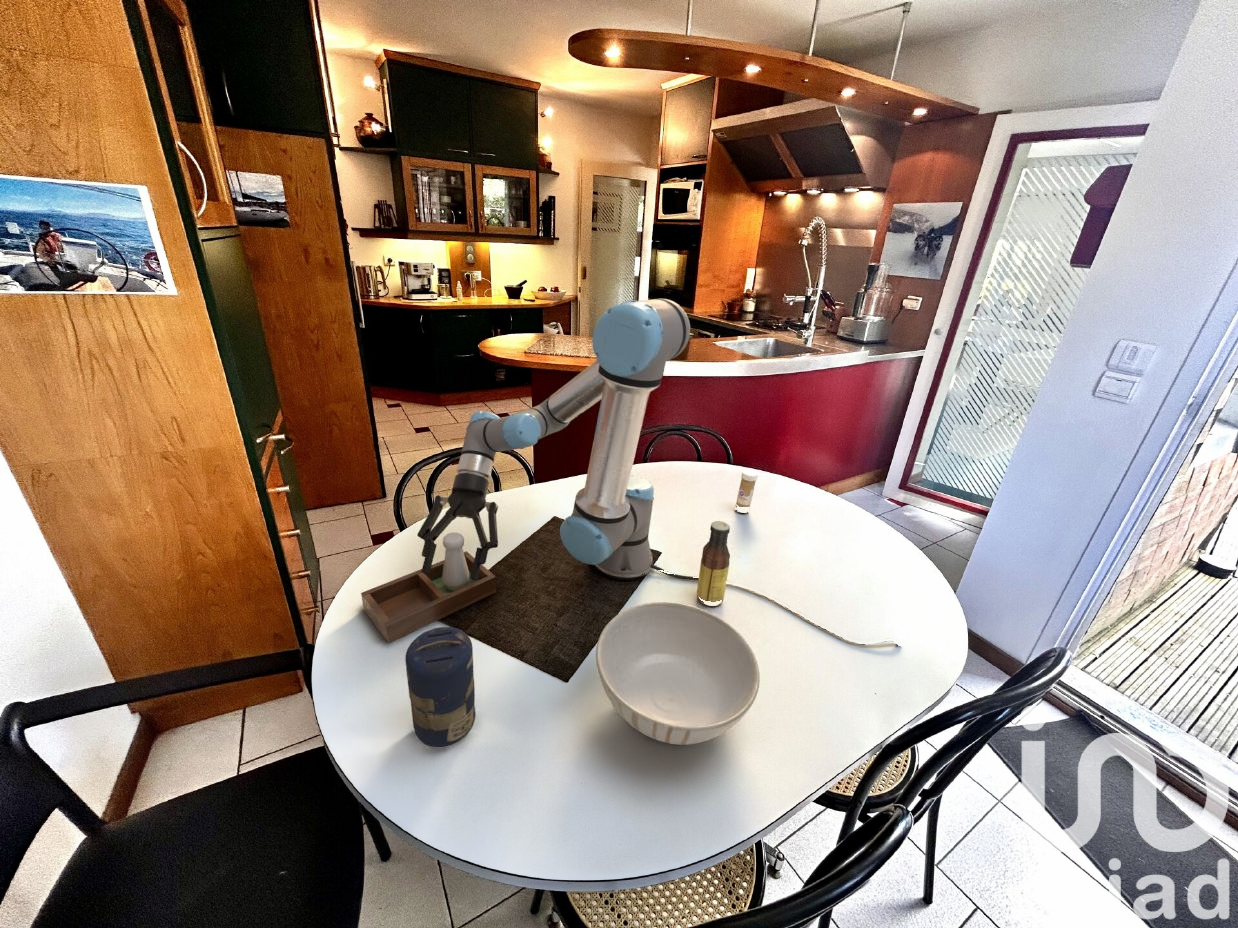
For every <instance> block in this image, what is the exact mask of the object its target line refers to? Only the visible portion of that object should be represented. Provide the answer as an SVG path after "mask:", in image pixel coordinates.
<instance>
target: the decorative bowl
mask: <svg viewBox="0 0 1238 928" xmlns="http://www.w3.org/2000/svg"><path fill="white" fill-rule="evenodd" d="M599 635H600V636H599V637H598V640H597V644H596V651H595V660H596V668H597V673H598V676H599V679H600V682H601V685H602V687H603V690H604V692H605V694H606V696H607V699H609V701H610V703H611V705H612V706H613V708H614V709H615V710H616V711H617V713H618V714H619V715H620V716H621V717H622V718H623V720H625V721H626V722H627V723H628V724H629V725H630V726H631V727H632V728H633V729H634V730H637V732H640V733H641V734H643V735H645V736H647V737H649V738H651V739H653V740H655V741H659V742H661V743H664V744H665V743H666V744H670V745H681V746H683V745H687V746H688V745H696V744H700V743H704V742H707V741H711V740H713V739H715V738H718V737H719V736H721V735H723V734H725V733H726V732H727V731H729V730H730V729H732V728H733V727H734V726H736V725H737V724H738V723H739V722H740V721H741V720H742V718H744V716H745V715H746V714H747V713H748V712H749V710H750V709H751V707H752V706H753V704H754V702H755V700H756V698H757V696H758V692H759V690H760V689H759V688H760V681H761V680H760V678H761V676H760V668H759V664H758V661H757V658H756V656H755V653H754V652H753V650H752V648H751V646H750V645H749V643H748V642H747V640H746V639H745V638H744V636H742V634H741V633H740V632H739V631H737V630H736V629H735V628H734V627H733V626H732V625H730V623H728V622H726V621H725V620H724V619H722V618H721V617H718V616H717V615H715V614H713V613H712V612H709V611H707V610H705V609H702V608H700V607H697V606H693V605H690V604H685V603H681V602H672V601H654V602H645V603H641V604H638V605H634V606H632V607H630V608H627V609H624V610H623V611H621V612H619V613H618V614H616V615H615V616H614V617H613V618H612V619H610V621H609V622H608V623H607V624H606V625H605V627H604V628H603V629H602V631H601V633H600V634H599Z"/></svg>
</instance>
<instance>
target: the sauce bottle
mask: <svg viewBox="0 0 1238 928" xmlns="http://www.w3.org/2000/svg"><path fill="white" fill-rule="evenodd" d="M730 526H731V525H730V524H728V523H727V522H726V521H723V520H716V521H713V522H711V523H710V529H709V530H710V534H709V539H708V541H707V542H706V544H705V545H704V546H703V548H702V552H701V553H702V554H701V559H700V566H699V572H698V574H699V575H698V577H699V579H698V581H697V588H696V596H697V600H698V602H699V603H701V604H702V603H704V602H703V601H701V600H700V599H699V598H698V596H699V597H700V598H701V599H703V600H705V601H711V602H716V601H720V600H722V599H723V600H724V598H725V593H726V588H727V584H726V581H728V575H729V568H730V558H731V554H730V551H729V547H728V537H729V534H730V530H731V527H730ZM697 594H698V595H697Z"/></svg>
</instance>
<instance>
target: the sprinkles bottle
mask: <svg viewBox="0 0 1238 928" xmlns="http://www.w3.org/2000/svg"><path fill="white" fill-rule="evenodd" d="M740 477H741V478H740V479H741V480H740V484H739V488H738V492H737V496H736V501H735V502H736V503H735V505H736V504H737V505H738V506H739V507H750V508H751V504H752V500H753V496H754V491H755V486H756V483H757V480H758V472H756V471H754V470H752V469H743V470H742V472H741V476H740Z"/></svg>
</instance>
